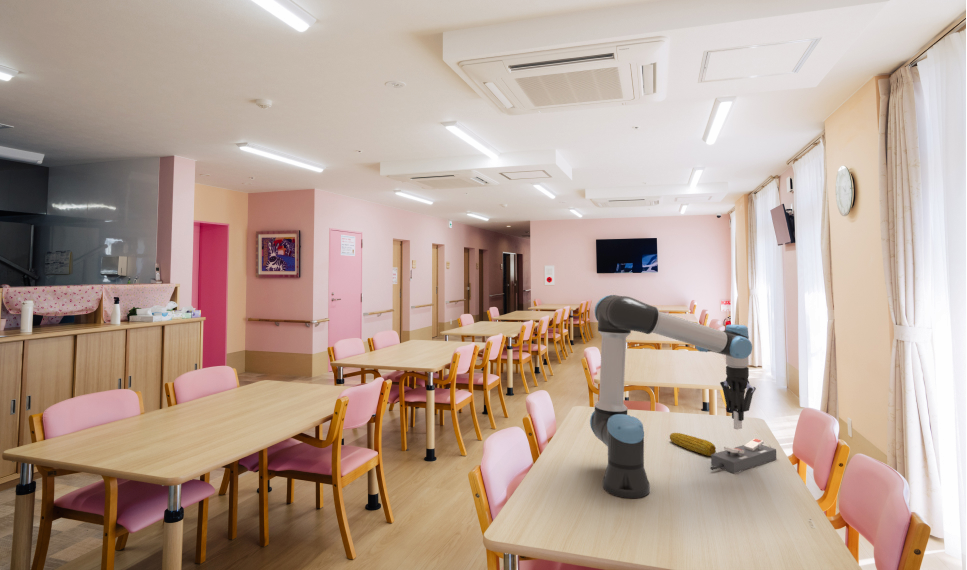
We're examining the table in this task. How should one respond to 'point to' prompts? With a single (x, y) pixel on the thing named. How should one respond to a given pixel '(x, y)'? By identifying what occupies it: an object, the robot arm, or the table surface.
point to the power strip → (742, 458)
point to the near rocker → (734, 450)
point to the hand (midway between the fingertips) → (737, 428)
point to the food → (693, 443)
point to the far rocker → (753, 444)
